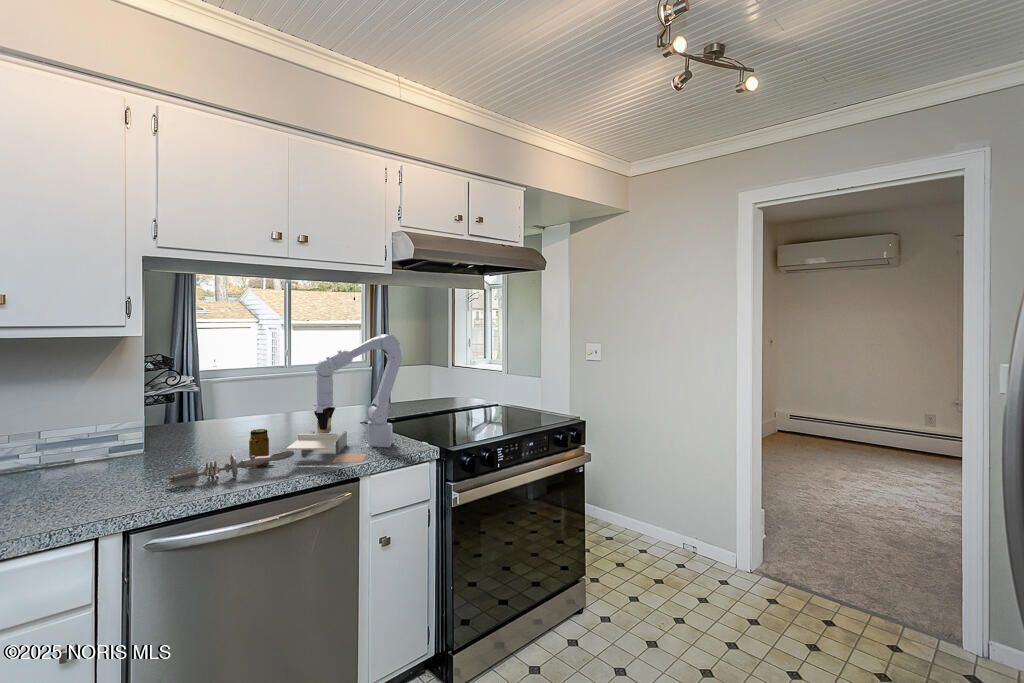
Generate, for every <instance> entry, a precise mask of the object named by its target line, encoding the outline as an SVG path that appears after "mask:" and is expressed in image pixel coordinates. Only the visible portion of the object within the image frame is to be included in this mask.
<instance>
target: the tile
mask: <svg viewBox="0 0 1024 683" xmlns="http://www.w3.org/2000/svg"><path fill="white" fill-rule="evenodd" d="M367 456H368V454H367V453H352V454H351V453H344V454H343V453H342V454H341V453H339V454H337V456H336V457H335V458H334V459H333V460H332V463H362V462H363V461H364V459H365V458H366V457H367Z"/></svg>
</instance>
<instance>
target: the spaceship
mask: <svg viewBox="0 0 1024 683" xmlns="http://www.w3.org/2000/svg"><path fill="white" fill-rule="evenodd" d="M294 455H295V452H294V450H293V451H292V450H284V451H279V452H276V453H272V454H269V456H260V457H255V456H251V457H250V458H249V457H248V458H246V459H245V458H244V459H242V460H240V461H238V462H237V459H236V457H235V456H234V454H233V453H231V454H230V456H229V462H230V464H229V463H228V462H225V464H224V466H221V467H219V465H218V464H217V461H216V460H213V462H212V461H209V463H208V462H205V463H204V468H203V470H202V471H198V468H197V467H193V466H187V467H185V468H183V469H181V470H179V471H176V472H174V473H173V474H171V475H170V476H168V477H166V478H167V485H169V486H187V487H189V486H191V485H192V486H193V485H195V484H196V483H197V482H199V480H200V479H199V478H200V476H201V477H202V476H204V477H205V478H206V480H207V483H209V482H211V481H212V482H214V481H215V479H216V481H219V480H220V479H219V478H220V477H219V474H220V472H221V471H222V472H223V471H225V472H226V473H228V474H229V473H230V471H231V475H232V477H233V478H234V480H236V479H237V478H238V477H237V476H238V473H239V471H238V469H249V468H248V467H251V468H250V469H256V468H255V467H256V466H257V465H260V464H262V463H265V462H269V463H270V462H278V461H281V460H286V459H289V458H290V457H293V456H294Z"/></svg>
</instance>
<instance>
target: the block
mask: <svg viewBox="0 0 1024 683" xmlns="http://www.w3.org/2000/svg"><path fill="white" fill-rule="evenodd" d="M316 421H317V422H316V423H317V424H316V425H317V427H316V429H317V433H316V434H330V432H332V418H328V423H327V429H326V430H320V427H319V423H318V419H317V420H316Z"/></svg>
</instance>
